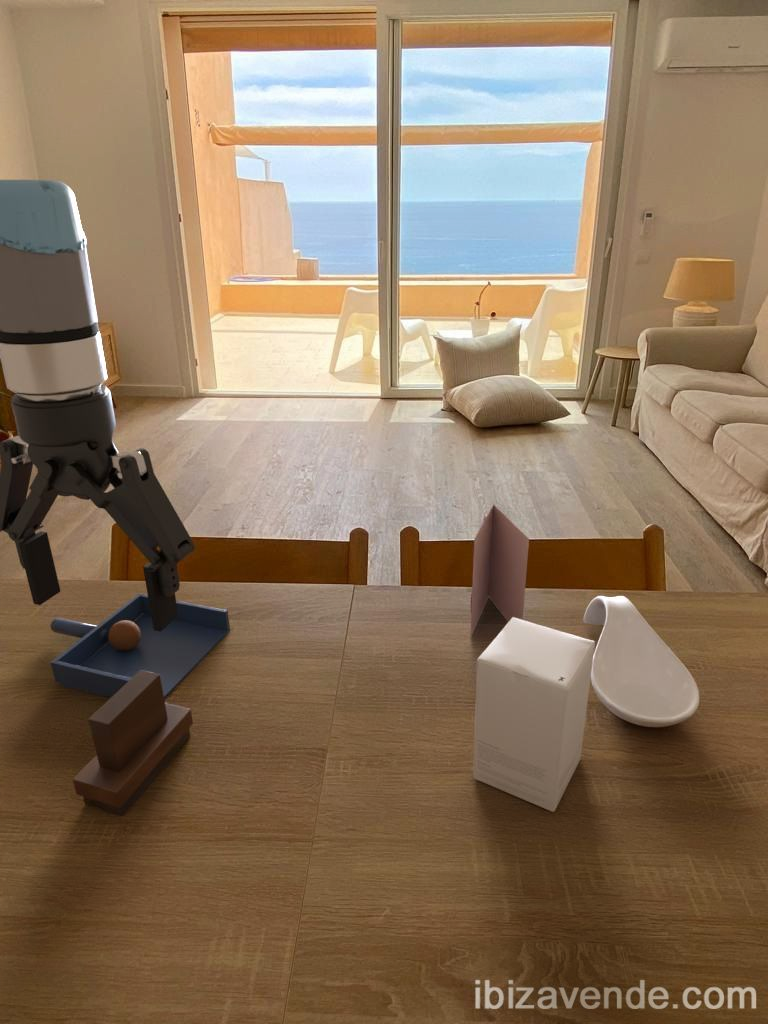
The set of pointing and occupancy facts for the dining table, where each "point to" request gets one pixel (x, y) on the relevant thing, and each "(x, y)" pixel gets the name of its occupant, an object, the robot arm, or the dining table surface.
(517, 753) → the white product box
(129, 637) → the cork ball
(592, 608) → the spoon rest
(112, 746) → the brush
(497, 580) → the greeting card
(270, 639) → the dining table surface
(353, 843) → the dining table surface
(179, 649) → the dustpan
